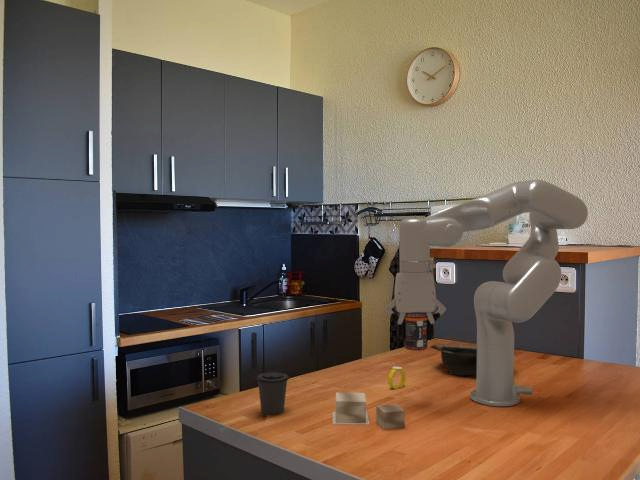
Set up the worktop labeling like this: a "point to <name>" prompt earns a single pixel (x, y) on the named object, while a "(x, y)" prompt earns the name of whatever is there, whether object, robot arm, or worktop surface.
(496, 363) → the robot arm
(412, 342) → the supplement bottle
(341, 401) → the maple block
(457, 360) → the black cooking pot
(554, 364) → the worktop surface
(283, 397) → the coffee cup
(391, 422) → the oak block
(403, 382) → the watch
